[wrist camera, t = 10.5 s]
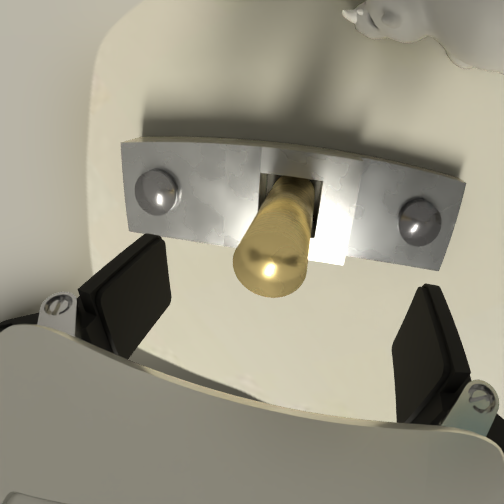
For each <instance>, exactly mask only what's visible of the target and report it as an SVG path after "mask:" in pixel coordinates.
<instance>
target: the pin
mask: <svg viewBox="0 0 504 504" xmlns="http://www.w3.org/2000/svg"><path fill="white" fill-rule="evenodd" d="M314 199H315V191H314V187H313V185H312V183H311V182H310V181H309V180H308V179H306V178H299V177H291V176H284V175H283V176H281V177H280V178H279V179H278V180H277V181H276V182H275V184H274V186H273V187H272V189H271V191H270V192H269V194H268V196H267V197H266V199H265V201H264V202H263V204H262V206H261V207H260V209H259V211H258V213H257V214H256V216H255V218H254V219H253V221H252V223H251V224H250V226H249V228H248V230H247V231H246V233H245V235H244V236H243V238H242V240H241V241H240V243H239V245H238V247H237V248H236V250H235V253H234V256H233V268H234V271H235V274H236V276H237V278H238V279H239V281H240V282H241V283H242V284H243V285H244V286H245V287H246V288H247V289H248V290H250V291H252V292H253V293H255V294H258V295H260V296H264V297H271V298H276V297H283V296H286V295H289V294H291V293H293V292H294V291H296V290H297V289H298V288H299V287H300V286H301V285H302V283H303V281H304V279H305V277H306V272H307V264H308V256H309V248H310V239H311V229H312V220H313V209H314Z"/></svg>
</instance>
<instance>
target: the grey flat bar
mask: <svg viewBox="0 0 504 504" xmlns="http://www.w3.org/2000/svg"><path fill="white" fill-rule="evenodd" d="M121 156H122V170H123V183H124V193H125V203H126V211H127V220H128V227H129V231H130V232H137V233H143V234H146V233H149V234H154V235H159V236H162V237H169V238H175V239H181V240H188V241H194V242H200V243H207V244H213V245H219V246H225V247H232V248H237V247H238V245H239V243H240V241H241V240H242V238H243V236H244V235H245V233H246V231H247V230H248V228H249V226H250V224H251V223H252V221H253V219H254V218H255V216H256V214H257V213H258V211H259V209H260V207H261V206H262V204H263V202H264V201H265V199H266V187H267V174H276V175H284V176H291V177H299V178H306V179H313V180H320V181H322V184H321V191H320V198H319V205H318V212H317V219H316V222H313V221H312V229H311V239H310V248H309V256H308V260H314V261H320V262H326V263H332V264H339V265H343V264H344V260H345V256H351V257H357V258H363V259H369V260H375V261H381V262H387V263H393V264H399V265H405V266H411V267H417V268H423V269H429V270H434V271H439V269H440V267H441V264H442V261H443V259H444V256H445V253H446V250H447V247H448V245H449V242H450V239H451V236H452V232H453V229H454V226H455V223H456V219H457V216H458V213H459V209H460V205H461V202H462V198H463V194H464V190H465V186H466V183H465V182H464V181H462V180H461V179H459V178H457V177H454V176H451V175H447V174H444V173H440V172H436V171H433V170H429V169H425V168H421V167H417V166H413V165H409V164H405V163H400V162H396V161H392V160H387V159H382V158H377V157H372V156H367V155H362V154H357V153H351V152H345V151H339V150H333V149H327V148H320V147H313V146H306V145H298V144H290V143H281V142H271V141H260V140H248V139H234V138H215V137H181V136H155V137H139V138H135V139H132V140H128V141H125V142H121Z"/></svg>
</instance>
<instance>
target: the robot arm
mask: <svg viewBox="0 0 504 504" xmlns="http://www.w3.org/2000/svg"><path fill="white" fill-rule="evenodd" d="M78 291H79V295H80V296H79V297H78V298H76V297H75V295H74V294H72V293H70V292H59V293H56V294H53V295H51V296H49V297H48V298H47V299H46V300H45V301H44V302H43V303H42V305H41V308H40V313H36V314H31V315H27V316H23V317H18V318H14V319H10V320H6V321H3V322H1V323H0V504H504V419H503V418H501V417H500V416H499V415H498V414H497V411H498V408H499V398H498V395H497V393H496V391H495V390H494V388H493V387H492V386H491V385H490V384H488V383H486V382H485V381H482V380H473V381H471V377H470V373H471V371H470V368H469V364H468V361H467V358H466V355H465V352H464V349H463V346H462V343H461V340H460V337H459V334H458V331H457V328H456V326H455V323H454V320H453V318H452V315H451V312H450V310H449V307H448V305H447V302H446V300H445V298H444V295H443V293H442V291H441V288H440V287H439V286H436V285H431V284H424V285H423V286H422V287H418V289H417V291H416V293H415V296H414V298H413V300H412V303H411V305H410V307H409V310H408V312H407V314H406V316H405V319H404V321H403V323H402V325H401V327H400V329H399V332H398V334H397V336H396V338H395V340H394V342H393V345H392V357H393V367H394V379H395V394H396V414H397V423H394V422H382V421H372V420H363V419H354V418H345V417H338V416H331V415H324V414H318V413H312V412H306V411H301V410H296V409H291V408H286V407H281V406H276V405H271V404H267V403H263V402H258V401H254V400H250V399H246V398H242V397H238V396H234V395H231V394H227V393H224V392H220V391H217V390H213V389H210V388H206V387H203V386H200V385H197V384H193V383H190V382H187V381H184V380H181V379H178V378H176V377H173V376H170V375H167V374H164V373H161V372H159V371H156V370H153V369H150V368H148V367H145V366H142V365H140V364H138V363H135V362H133V361H130V360H128V359H129V357H130V356H131V355H132V353H133V351H135V349H136V348H137V347H138V345H139V344H140V343H141V341H142V340H143V339H144V337H145V336H146V335H147V333H148V332H149V331H150V330H151V328H152V327H153V326H154V324H155V323H156V322H157V320H158V319H159V318H160V316H161V315H162V314H163V313H164V311H165V310H166V309H167V307H168V306H169V305H170V302H171V290H170V282H169V274H168V265H167V256H166V246H165V241H164V240H162V238H161V236H159V235H154V234H149V233H146V234H144V235H143V236H141V237H140V238H139V239H138V240H136V241H135V242H134V243H132V244H131V245H130V246H129V247H127V248H126V249H125V250H124V251H122V252H121V253H120V254H119V255H118V256H116V257H115V258H114V259H113V260H111V261H110V262H109V263H108V264H107V265H105V266H104V267H103V268H102V269H101V270H99V271H98V272H97V273H96V274H95V275H94V276H92V277H91V278H90V279H89V280H88V281H87V282H85V283H84V284H83V285H82V286H81V287H80V288H79V289H78Z"/></svg>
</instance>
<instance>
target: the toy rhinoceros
mask: <svg viewBox="0 0 504 504" xmlns="http://www.w3.org/2000/svg"><path fill="white" fill-rule="evenodd" d="M342 15H343V16H344V17H345V18H346V19H347V20H349V21H350V22H353V24H354V25H355V28H356V30H357V31H358V32H360V33H362V34H363V35H365V36H367V37H369V38H372V39H386V38H391V39H393V40H396V41H399V42H403V43H414V42H417V41H420V40H421V39H423V38H425V37H427V36H429V37H432V38H434V39H436V40H437V41H438V42H439V43H440V44H441V45H442V46H443V47H444V48H445V49H446V53H447V55H448V57H449V58H450V60H451V61H452V62H453V63H454V64H455V65H457V66H458V67H460V68H463V69H471V68H477V69H480V70H484V71H489V72H499V73H501V74H504V0H366V1H365V2H363V3H361V4H360V5H358V6H357V7H356V8H355V9H354V10H342Z"/></svg>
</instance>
